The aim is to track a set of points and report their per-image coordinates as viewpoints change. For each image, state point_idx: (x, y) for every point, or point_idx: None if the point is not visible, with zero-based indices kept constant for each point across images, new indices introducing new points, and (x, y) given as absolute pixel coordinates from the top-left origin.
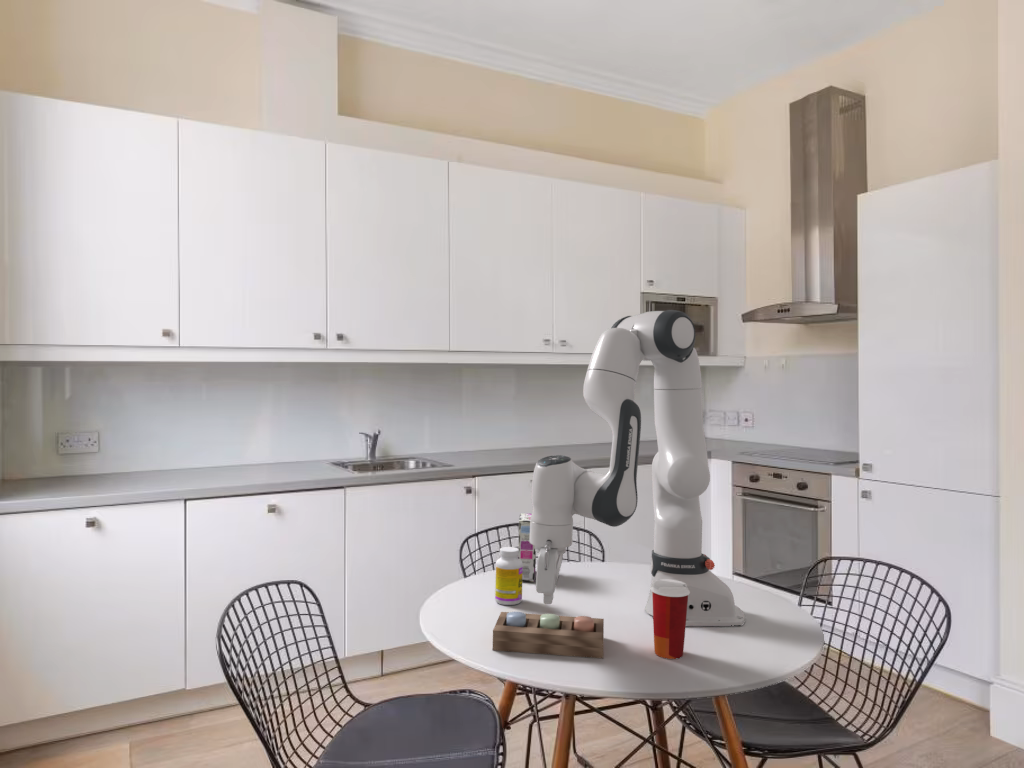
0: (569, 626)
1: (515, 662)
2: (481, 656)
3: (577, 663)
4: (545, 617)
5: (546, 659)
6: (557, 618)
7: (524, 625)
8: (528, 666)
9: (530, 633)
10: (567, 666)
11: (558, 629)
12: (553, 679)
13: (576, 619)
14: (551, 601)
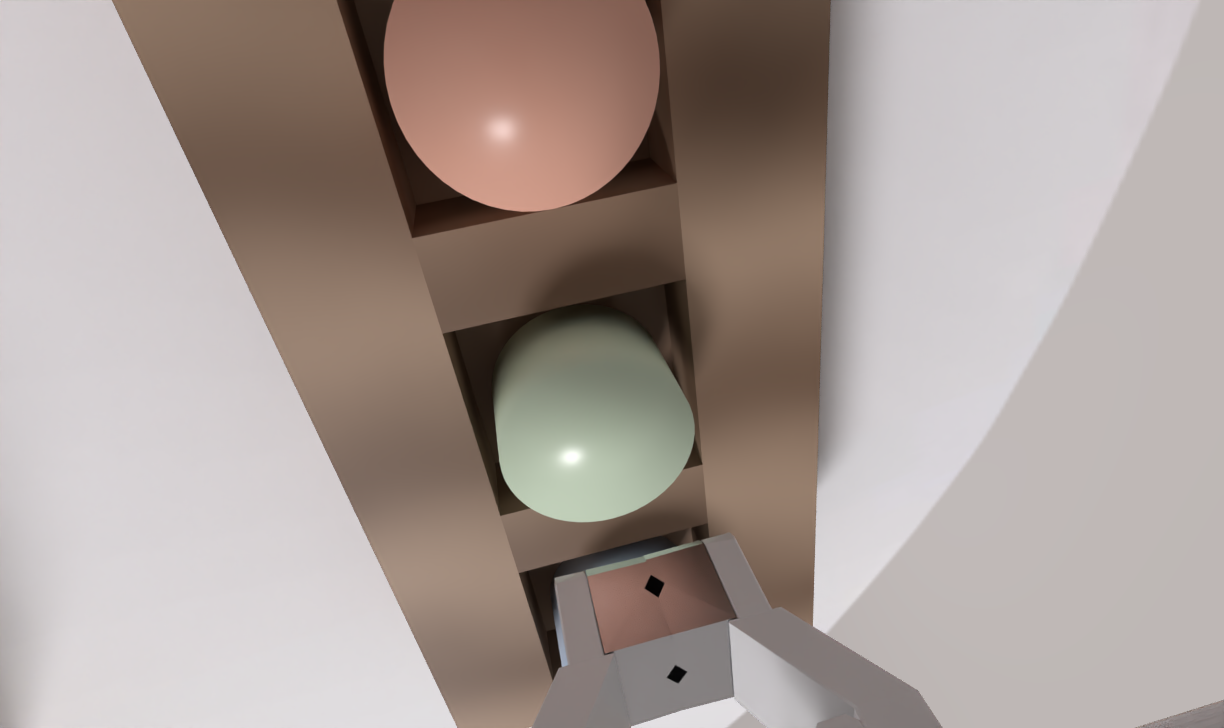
0: (574, 227)
1: (897, 404)
2: (844, 559)
3: (871, 17)
4: (623, 476)
5: (832, 260)
6: (609, 377)
7: (643, 549)
8: (944, 325)
9: (814, 461)
10: (930, 85)
11: (689, 302)
12: (1121, 129)
13: (567, 177)
14: (741, 553)
